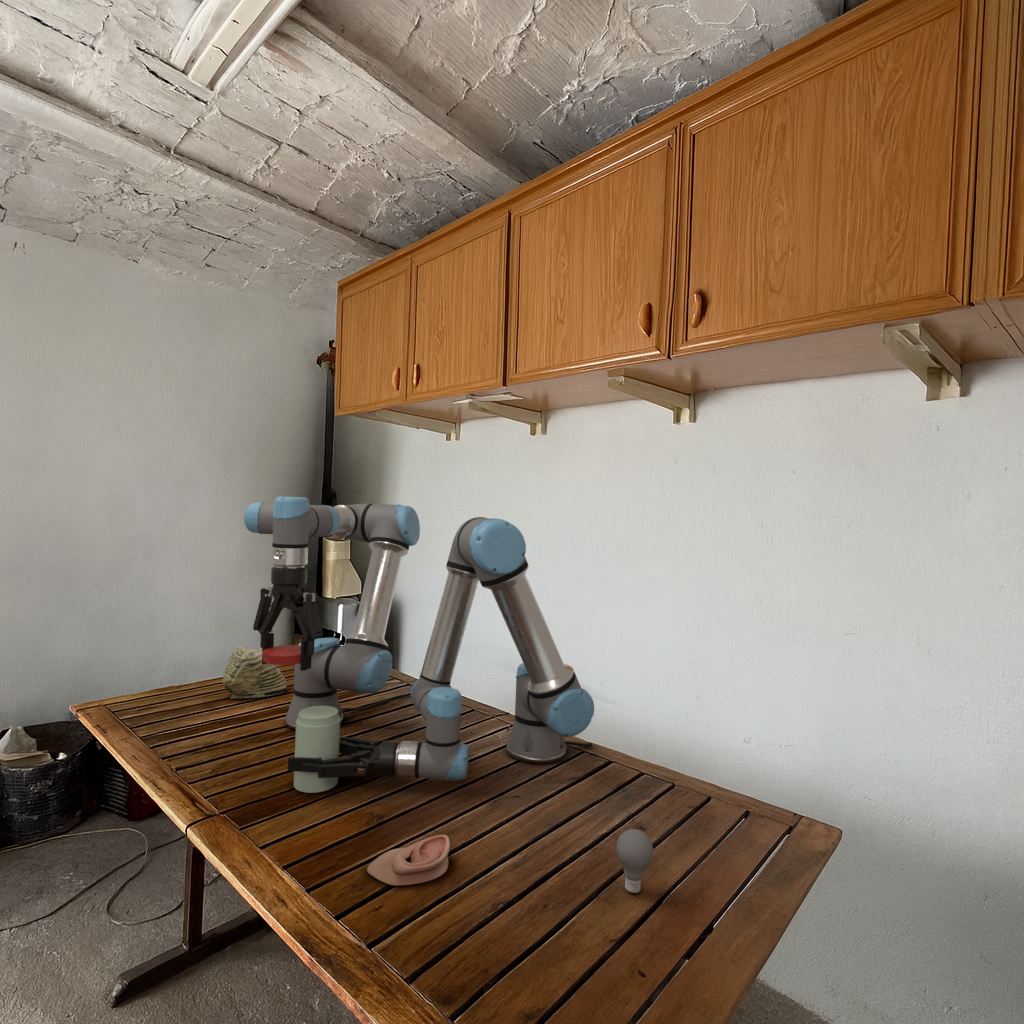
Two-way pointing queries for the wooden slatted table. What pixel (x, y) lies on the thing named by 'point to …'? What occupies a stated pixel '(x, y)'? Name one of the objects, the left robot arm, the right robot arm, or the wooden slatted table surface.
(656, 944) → the wooden slatted table surface
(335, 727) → the jar
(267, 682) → the fossil
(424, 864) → the anatomical model
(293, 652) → the lid
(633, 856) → the light bulb
